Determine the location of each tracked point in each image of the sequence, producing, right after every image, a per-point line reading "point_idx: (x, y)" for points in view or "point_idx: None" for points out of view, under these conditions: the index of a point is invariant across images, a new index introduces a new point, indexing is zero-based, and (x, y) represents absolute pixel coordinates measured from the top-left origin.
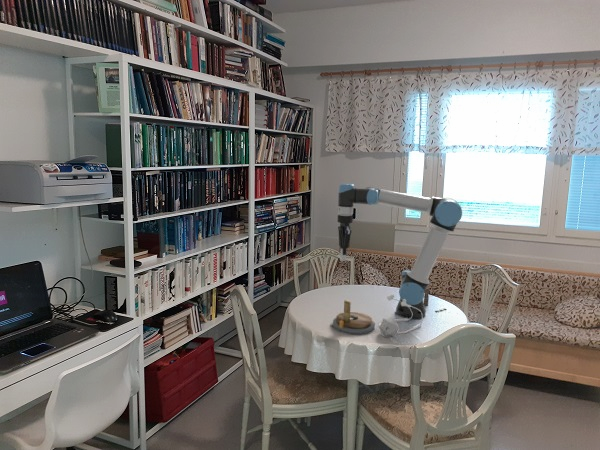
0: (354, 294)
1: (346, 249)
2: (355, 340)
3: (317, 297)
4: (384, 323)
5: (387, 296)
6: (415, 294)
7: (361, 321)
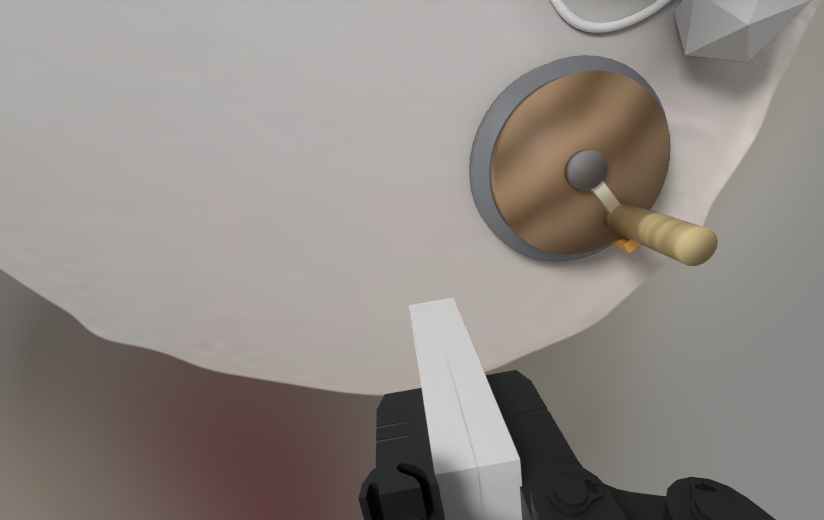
0: (9, 22)
1: (508, 438)
2: (702, 191)
3: (139, 272)
4: (767, 34)
5: None
6: None
7: (633, 141)
